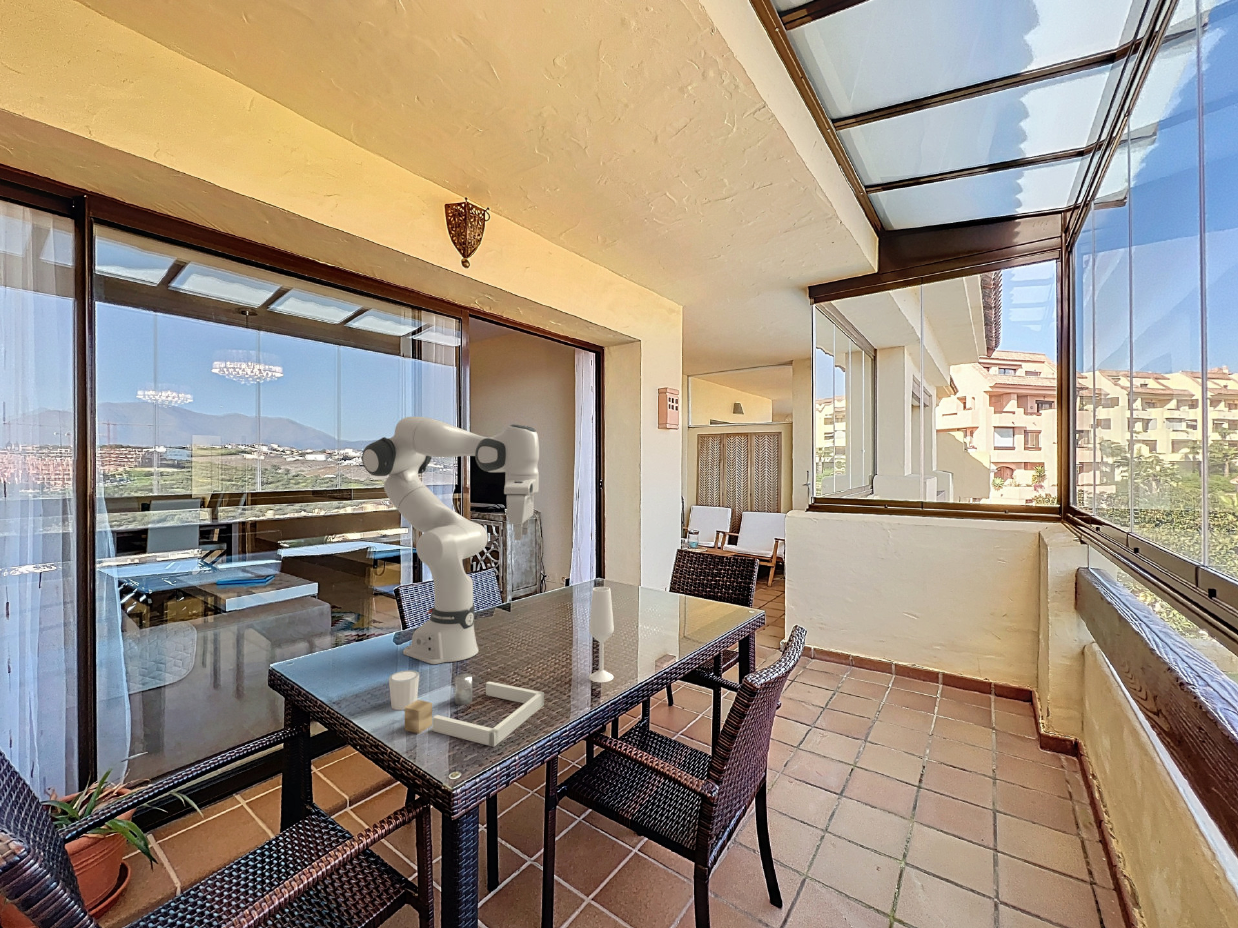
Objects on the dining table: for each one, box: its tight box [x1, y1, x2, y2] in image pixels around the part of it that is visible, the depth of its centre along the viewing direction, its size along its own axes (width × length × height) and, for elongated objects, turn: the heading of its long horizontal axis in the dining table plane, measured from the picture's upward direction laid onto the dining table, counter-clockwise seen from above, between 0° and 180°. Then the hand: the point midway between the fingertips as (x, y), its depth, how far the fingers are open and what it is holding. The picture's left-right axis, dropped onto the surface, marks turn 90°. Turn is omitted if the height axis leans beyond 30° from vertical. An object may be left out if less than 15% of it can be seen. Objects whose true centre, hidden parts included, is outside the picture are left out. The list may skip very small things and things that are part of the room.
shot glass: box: [388, 669, 420, 711], centre depth 128 cm, size 7×7×7 cm
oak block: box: [404, 699, 433, 735], centre depth 117 cm, size 4×4×5 cm
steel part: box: [454, 672, 473, 706], centre depth 129 cm, size 4×4×6 cm
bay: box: [432, 681, 545, 747], centre depth 122 cm, size 16×20×3 cm
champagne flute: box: [588, 586, 615, 683], centre depth 144 cm, size 7×7×24 cm
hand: (521, 537), depth 142 cm, fingers open, 8 cm apart
